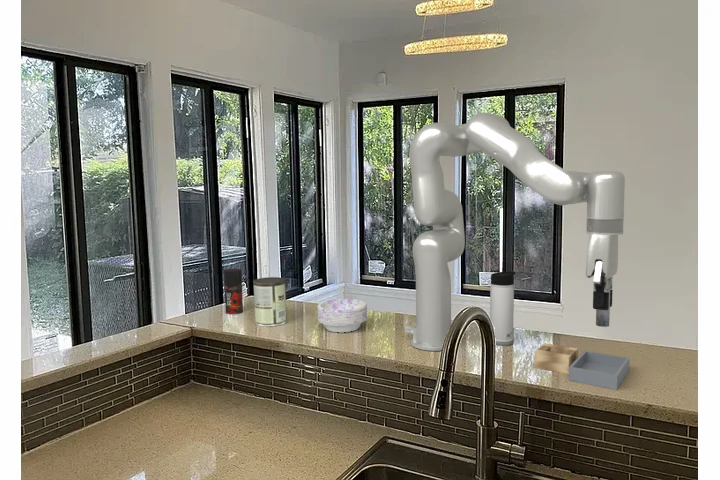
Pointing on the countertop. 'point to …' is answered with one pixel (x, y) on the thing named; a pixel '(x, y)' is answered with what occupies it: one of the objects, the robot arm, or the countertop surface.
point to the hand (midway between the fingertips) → (602, 307)
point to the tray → (599, 369)
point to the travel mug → (502, 306)
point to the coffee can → (270, 301)
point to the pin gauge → (604, 311)
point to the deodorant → (233, 291)
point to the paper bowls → (342, 314)
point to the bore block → (555, 358)
